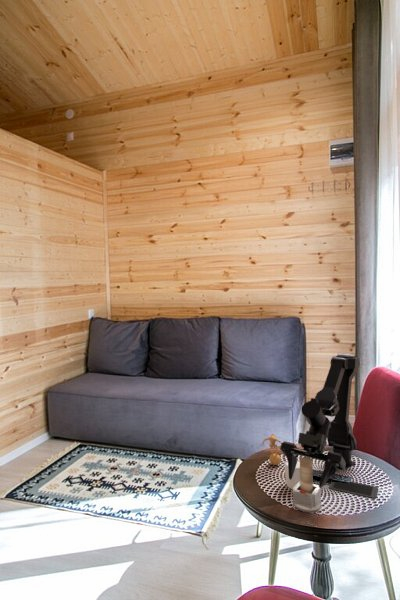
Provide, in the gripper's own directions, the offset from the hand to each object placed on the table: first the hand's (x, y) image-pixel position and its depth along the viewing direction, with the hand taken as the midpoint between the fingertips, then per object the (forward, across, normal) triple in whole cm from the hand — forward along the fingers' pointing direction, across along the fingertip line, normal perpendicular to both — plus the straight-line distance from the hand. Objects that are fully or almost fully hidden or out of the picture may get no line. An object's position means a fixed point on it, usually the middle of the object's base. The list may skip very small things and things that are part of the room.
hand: (304, 483), depth 119 cm
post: (+3, 0, +5) cm, 6 cm away
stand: (+4, 0, +6) cm, 7 cm away
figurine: (-8, -19, +19) cm, 28 cm away
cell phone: (-8, +8, +18) cm, 22 cm away
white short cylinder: (-2, -8, +13) cm, 15 cm away
